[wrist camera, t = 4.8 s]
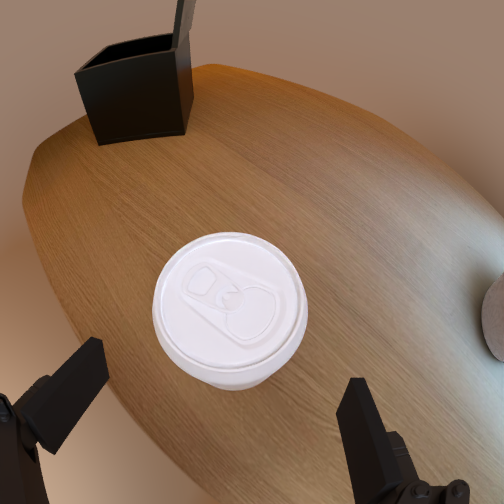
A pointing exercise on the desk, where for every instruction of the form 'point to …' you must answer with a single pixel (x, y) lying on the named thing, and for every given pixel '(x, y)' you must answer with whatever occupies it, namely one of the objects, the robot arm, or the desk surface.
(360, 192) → the desk surface
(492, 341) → the planter
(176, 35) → the bin lid
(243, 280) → the beverage can
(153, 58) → the trash bin
